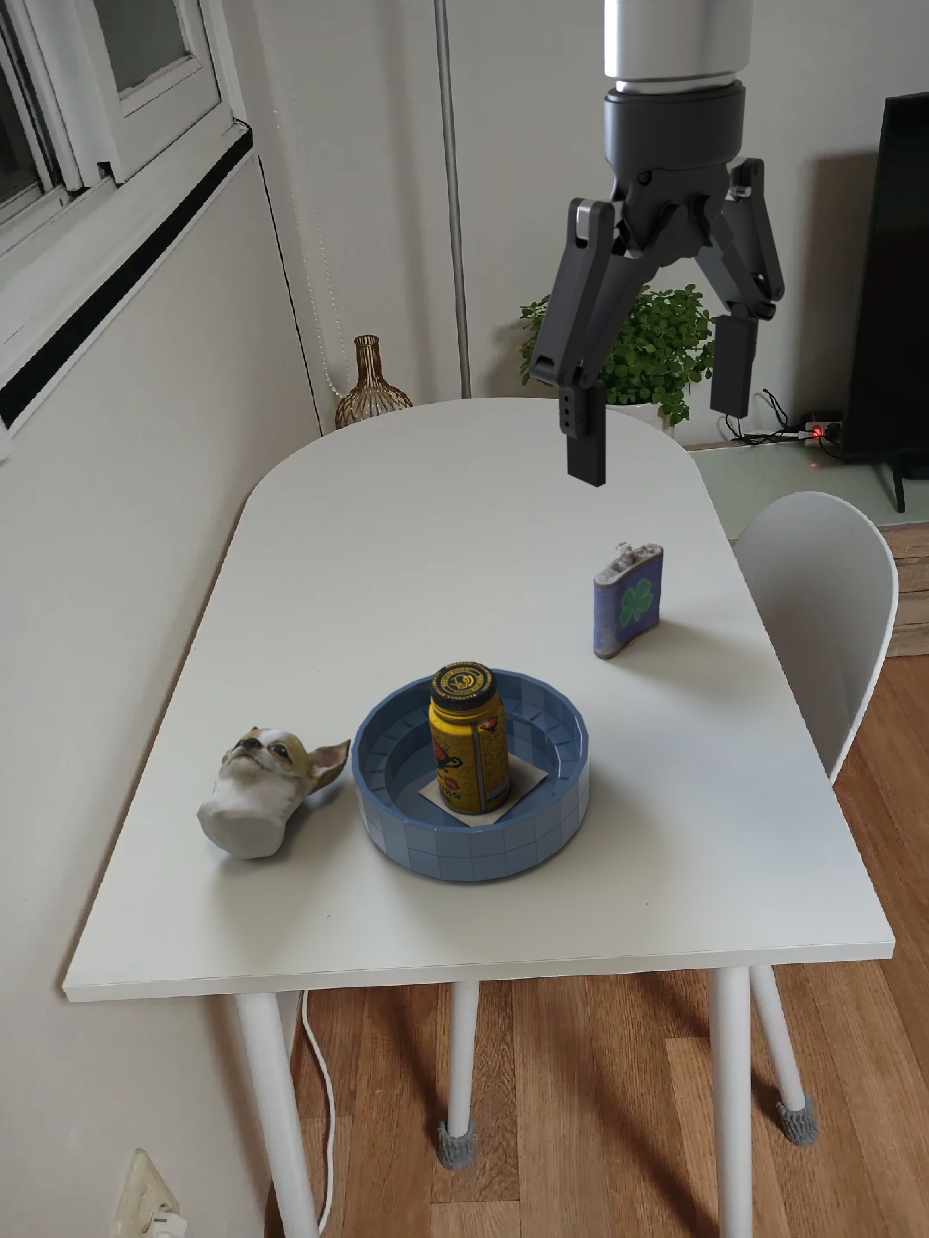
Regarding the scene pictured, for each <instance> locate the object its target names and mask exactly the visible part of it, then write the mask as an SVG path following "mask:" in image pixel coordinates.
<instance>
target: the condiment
mask: <svg viewBox="0 0 929 1238" xmlns="http://www.w3.org/2000/svg"><path fill="white" fill-rule="evenodd" d="M489 668H490V667H488V666H486V665H485V664H483V663H479V662H476V661H457V662H453V663H449V664H446V665H445V666H443V667H441V668H440V669H438V670H437V671H436V672H434V676H433V678H432V680H431V681H430V692H431V705H430V709H429V723H430V728H431V734H432V741H433V749H434V756H435V765H436V772H437V778H436V779H435V780H434V781H432V782H431V783H429V784H428V785H427V786H426V787H425V788H423V789H422V790H420V791H418V792H419V793H420V794H422V795H423V796H425V797H426V798H428V799H429V800H431V801H432V802H433V803H435V804H436V805H437V806H439V807H441V808H442V809H443V810H445V811H446V812H448V813H450V814H451V815H453V816H454V817H456V818H457V819H459V820H460V821H462V822H464V823H465V824H468V825H469V826H470V827H476V826H482V825H489V824H493V823H494V822H495V821H497V820H498V819H499V817H501V816H502V815H504V814H505V813H506V812H507V811H508V810H509V809H510V808H511V807H512V806H513V805H514V804H515V803H517V802H518V801H519V799H520V798H521V797H522V796H524V795H525V794H527V793H528V792H529V791H530V790H531V789H532V788H534V787H535V786H536V785H537V784H538V782H539V781H540V780H541V779H543V778H544V777H545V776H546V775H547V774H549V773H546V772H545V771H543V770H540V769H538V768H536V767H534V766H533V765H531V764H529V763H527V762H525V761H523V760H521V759H520V758H518V757H516V756H515V755H513V754H510V753H509V752H508V745H507V733H506V721H505V708H504V704H503V702H502V700H501V698H500V697H499V692H498V688H497V687H498V686H497V684H498V682H497V678H496V677H495V675H494V674H493V671H492V670H491V669H489Z"/></svg>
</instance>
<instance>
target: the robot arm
mask: <svg viewBox="0 0 929 1238" xmlns="http://www.w3.org/2000/svg"><path fill="white" fill-rule="evenodd" d="M753 11H754V0H604V75H605V76H606V77H607V78H609V80H610V81H613V82H615V87H612V88H610V89H609V90H608V91H607V95H605V96H604V98H603V156H604V160H605V161H606V162H607V163H608V164H609V166H610V168H611V171H612V172H613V177H614V178H613V186H612V190H611V194H610V197H609V198H608V199H598V200H597V199H592V198H591V199H590V198H584V197H578V196H576V197H574V198H572V200H571V201H570V202H569V204H568V207H567V221H566V223H567V224H566V238H565V239H566V240H565V245H564V248H563V252H562V256H561V259H560V262H559V266H558V269H557V272H556V275H555V278H554V282H553V285H552V288H551V292H550V295H549V299H548V301H547V305H546V308H545V311H544V315H543V319H542V322H541V325H540V329H539V332H538V335H537V339H536V342H535V345H534V348H533V351H532V355H531V359H530V362H529V364H528V365H529V366H528V373H529V375H530V377H531V378H534V379H536V380H539V381H543V382H545V383H548V384H550V385H553V386H556V387H557V389H558V391H557V392H558V416H559V418H558V421H559V428H560V431H561V434H564V435H565V436H566V468H567V469H566V470H567V472H566V473H567V475H568V476H571V477H574V478H575V479H578V480H579V481H582V482H584V483H586V484H588V485H590V486H593V487H594V488H597V489H598V488H599V487H601V486H604V485H606V484H607V384H606V383H604V382H601V381H599V380H596V379H597V378H598V375H599V374H600V371H601V370H602V368H603V366H604V364H605V361H606V360H607V358H608V356H609V354H610V352H611V350H612V347H613V346H614V344H615V342H616V340H617V338H618V336H619V334H620V332H621V330H622V328H623V327H624V324H625V322H626V320H627V318H628V316H629V315H630V312H631V310H632V308H633V306H634V304H635V302H636V300H637V298H638V296H639V294H640V292H641V290H642V288H643V286H645V284H647V283H650V282H651V281H653V280H654V278H655V277H656V275H657V273H658V272H659V269H660V268H661V269H663V268H666V267H669V266H672V265H673V264H675V263H676V262H678V261H679V260H681V259H692V258H693V259H694V260H695V263H697V264H696V265H698V267H699V268H700V270H701V272H702V273H703V275H704V277H705V278H706V280H707V281H708V283H709V285H710V286H711V288H712V290H713V291H714V293H715V294H716V296H717V298H718V299H719V301H720V302H721V304H722V306H723V307H724V309H725V310H726V311H727V312H729V313H730V315H728V314H723V313H722V314H719V315H718V316H716V317H715V325H714V338H713V339H714V341H713V355H712V369H711V370H712V371H711V385H710V386H711V387H710V401H709V402H710V403H709V410H712V411H715V412H717V413H720V414H724V415H726V416H730V417H732V418H736V419H738V420H742V419H744V418H747V417H748V416H749V407H750V396H751V395H750V394H751V384H752V375H753V365H754V361H755V358H756V355H757V345H758V336H759V335H758V334H759V325H760V321H764V322H770V321H772V320H773V318H774V317H775V316H776V312H777V304H776V303H777V302H780V301H781V300H783V298H784V295H785V293H786V292H785V291H786V285H785V281H784V276H783V272H782V268H781V264H780V259H779V255H778V251H777V250H778V249H777V247H776V242H775V238H774V233H773V229H772V224H771V221H770V216H769V213H768V212H769V211H768V208H767V202H766V199H765V162H764V159H762V158H757V157H749V156H748V157H747V156H738V155H739V153H740V152H741V150H742V147H743V136H744V135H743V133H744V120H745V107H746V94H747V87H746V86H744V85H743V84H744V83H743V81H742V80H740V79H737V73H738V72H741V71H743V70H745V68H746V67H747V66H748V65H749V63H750V58H751V57H750V56H751V42H752V41H751V40H752V23H753ZM627 252H628V253H629V256H630V257H628V256H625V254H626V253H627ZM760 276H761V277H762V278H760ZM773 302H774V303H773ZM775 302H776V303H775ZM580 358H581V359H582V360H581V363H580V364H578V362H579V360H580Z"/></svg>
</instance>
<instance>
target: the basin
mask: <svg viewBox="0 0 929 1238" xmlns="http://www.w3.org/2000/svg"><path fill="white" fill-rule="evenodd" d="M488 668H489V669H491V670H492V671H493V674H494V675H495V677H496V678H497V682H498V684H497V686H498V687H497V688H498V692H499V697H500V698H501V700H502V702H503V704H504V708H505V721H506V733H507V745H508V752H509V753H510V754H513V755H515V756H516V757H518V758H520V759H521V760H523V761H525V762H527V763H529V764H531V765H533V766H534V767H536V768H538V769H540V770H543V771H545V772H546V773H549V774H547V775H546V776H545V777H544V778H543V779H541V780H540V781H539V782H538V784H537V785H536V786H535V787H534V788H532V789H531V790H530V791H529V792H528V793H527V794H525V795H524V796H522V797H521V798H520V799H519V801H518V802H517V803H515V804H514V805H513V806H512V807H511V808H510V809H509V810H508V811H507V812H506V813H505V814H504V815H502V816H501V817H499V819H498V820H497V821H495V822H494V823H493V824H489V825H482V826H476V827H470V826H469V825H468V824H465V823H464V822H462V821H460V820H459V819H457V818H456V817H454V816H453V815H451V814H450V813H448V812H446V811H445V810H443V809H442V808H441V807H439V806H437V805H436V804H435V803H433V802H432V801H431V800H429V799H428V798H426V797H425V796H423V795H422V794H420V793H419V792H418V791H420V790H422V789H423V788H425V787H426V786H427V785H428V784H429V783H431V782H432V781H434V780H435V779H436V778H437V772H436V765H435V756H434V749H433V741H432V734H431V728H430V723H429V709H430V705H431V692H430V681H431V680H432V678H433V676H434V674H435V673H434V674H430V675H428V676H424V677H421V678H418V679H415V680H413V681H411V682H409V683H407V684H405V685H403V686H401V687H399V688H397V689H395V690H394V691H393V692H390V693H389V694H388V695H386V696H385V697H384V698H383V699H382V700H381V701H380V702H378V703H377V704H376V705H375V706H373V707H372V708H371V709H370V711H369V712H368V713H367V715H366V716H365V718H364V719H363V721H362V722H361V723H360V725H359V726H358V727H357V728H356V729H357V730H356V732H355V735H354V738H353V742H352V743H351V746H350V767H351V774H352V779H353V784H354V789H355V793H356V799H357V803H358V807H359V813H360V817H361V820H362V822H363V824H364V827H365V829H366V831H367V833H368V836H369V838H370V839H371V841H373V843H374V844H375V845H376V846H377V847H378V848H379V849H380V850H381V852H382V853H384V854H385V855H386V857H388V858H389V859H391V860H393V861H395V862H396V863H398V864H400V865H401V866H403V867H404V868H407V869H408V870H410V871H412V872H415V873H418V874H421V875H425V876H428V877H432V878H434V879H438V880H443V881H456V882H457V881H460V882H479V881H487V880H492V879H498V878H505V877H509V876H511V875H514V874H517V873H520V872H522V871H524V870H527V869H530V868H532V867H535V866H537V865H539V864H541V863H542V862H543V861H544V860H546V859H548V858H549V857H551V856H552V855H553V854H555V853H556V852H558V851H559V850H561V849H562V848H563V847H564V845H566V843H567V842H568V841H569V840H570V839H571V838H572V836H573V835H574V834H575V833H576V831H578V829H579V828H580V826H581V824H582V821H583V819H584V817H585V814H586V812H587V810H588V806H589V798H590V736H589V732H588V729H587V727H586V724H585V720H584V718H583V715H582V714H581V713H580V711H579V710H578V709H577V707H576V706H575V705H574V703H572V702H571V700H570V698H568V697H567V696H566V695H565V694H563V693H562V692H560V691H559V690H558V689H557V688H555V687H554V686H552V685H551V684H549V683H547V682H545V681H543V680H540V679H538V678H536V677H533V676H531V675H529V674H526V673H521V672H517V671H512V670H506V669H502V668H501V669H500V668H493V667H492V668H490V667H488Z"/></svg>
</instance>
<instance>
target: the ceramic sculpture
mask: <svg viewBox="0 0 929 1238" xmlns="http://www.w3.org/2000/svg"><path fill="white" fill-rule="evenodd" d="M351 742H352V738H349V739H347V740H345V741H342V742H341V743H338V744H335V745H328V746H327V745H324V746H320V747H317V748H315V749H314V750H313V751H310V752H307V749H306V748H305V746H304V744H303V743H302V741H301V740H300V739H299V738H298V736H297V735H295V734H294V733H292V732H289V731H287V730H285V729H279V728H273V727H272V728H270V727H269V728H267V727H266V728H259V727H258V726H256V725H254V726H253V727H252V728H251V730H250V731H249V732H247V733H246V734H243V736H241V737H240V738H239V740H238V742H236V744H235V745H234V746H233V747H230V748H229V749H227V750H226V753H225V754H224V755H223V756H222V759H221V766H220V769H219V772H218V774H217V776H216V779H215V781H214V786H213V790H212V794H211V795H210V796H209V797H207V798H206V799H204V800H203V801H202V802H201V804H200V806H199V808H198V811H196V814H195V815H196V818H197V819H198V822H199V824H200V827H201V829H202V832H203V834H204V835H205V836H206V838H207V839H208V840H209V841H210V842H212V843H213V844H214V845H215V846H216V847H217V848H219V849H221V850H222V851H225V852H226V853H228V854H230V855H231V856H234V857H235V858H237V859H239V860H251V859H255V858H265V857H269V856H272V855H274V854H275V853H277V851H278V850H279V848H280V847H281V845H282V844H283V841H284V838H285V830H286V823H287V821H288V820H289V819H290V817H291V816H292V815H293V813H294V812H295V811H296V810H297V809H298V807H299V806H300V805H301V804H302V802H303V800H304V799H306V797H309V796H312V795H313V794H315V793H316V792H318V791H321V790H322V789H324V788H326V787H328V786H329V785H331V784H332V783H334V782H335V781H337V779H338V778H339V777H340V775H341V774H342V772H343V771H344V769H345V767H346V765H347V763H348V759H349V757H350V756H349V755H350V750H351V745H352V743H351Z"/></svg>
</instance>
